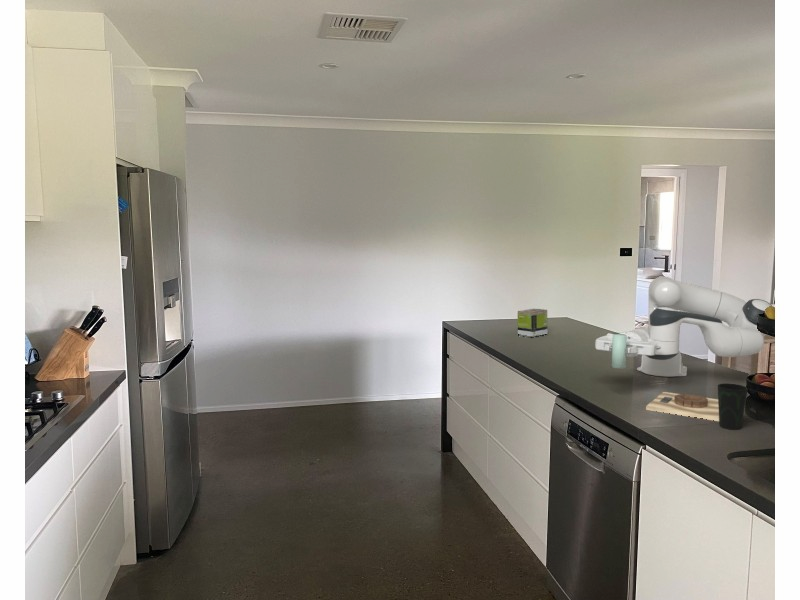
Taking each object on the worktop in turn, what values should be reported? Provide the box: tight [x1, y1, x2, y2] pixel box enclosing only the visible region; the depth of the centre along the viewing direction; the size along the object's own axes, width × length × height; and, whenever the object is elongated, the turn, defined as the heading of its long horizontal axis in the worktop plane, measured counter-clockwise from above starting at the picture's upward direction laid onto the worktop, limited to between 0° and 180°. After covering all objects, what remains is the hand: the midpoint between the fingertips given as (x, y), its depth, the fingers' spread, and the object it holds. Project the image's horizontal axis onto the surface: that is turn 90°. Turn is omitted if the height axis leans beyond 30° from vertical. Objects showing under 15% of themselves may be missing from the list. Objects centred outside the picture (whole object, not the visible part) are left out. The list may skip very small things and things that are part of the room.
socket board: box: [645, 391, 719, 422], centre depth 193 cm, size 22×22×3 cm
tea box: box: [517, 308, 549, 336], centre depth 335 cm, size 15×10×15 cm, turn 130°
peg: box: [611, 334, 627, 369], centre depth 202 cm, size 4×4×11 cm
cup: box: [717, 382, 749, 431], centre depth 173 cm, size 8×8×12 cm
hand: (618, 349), depth 201 cm, fingers closed on peg, 4 cm apart
